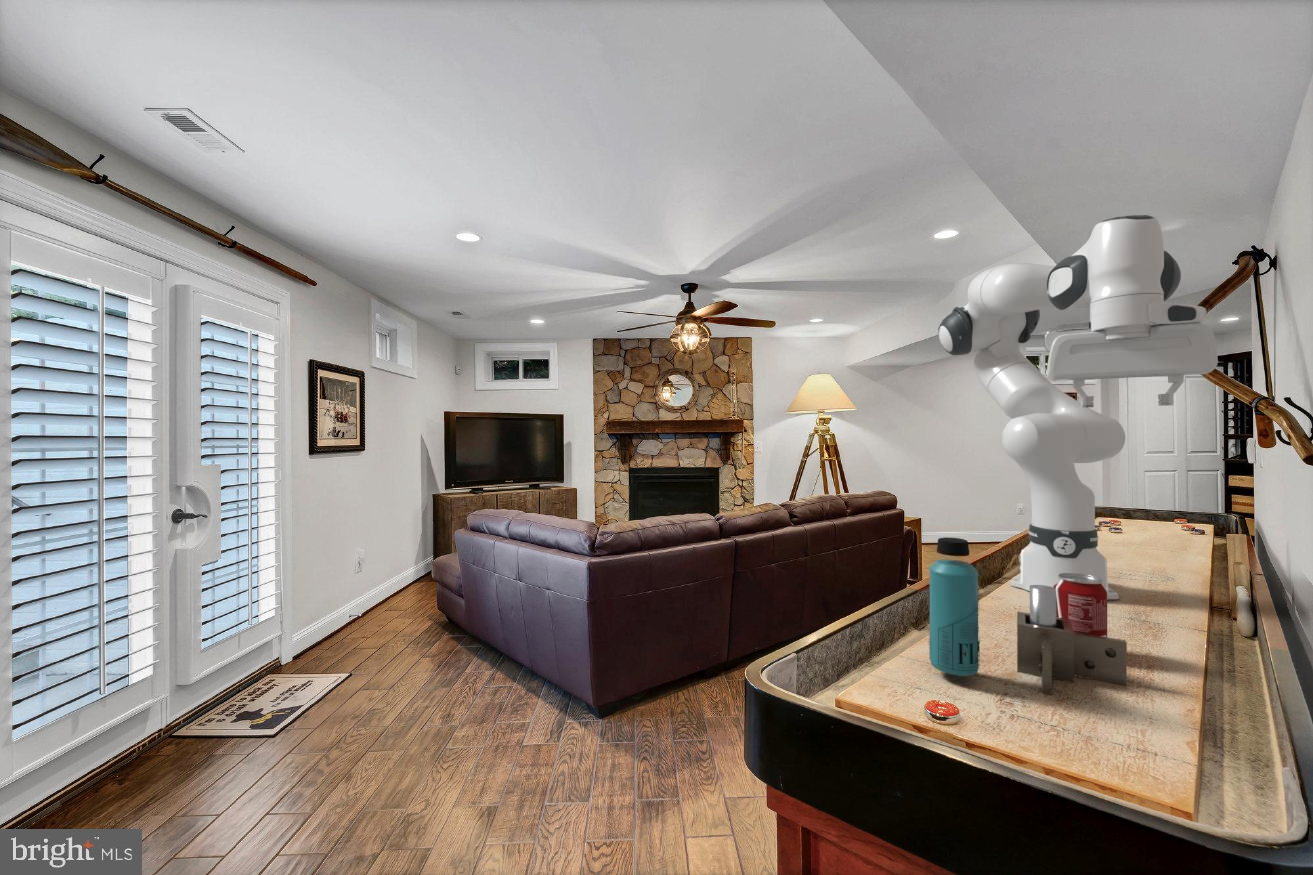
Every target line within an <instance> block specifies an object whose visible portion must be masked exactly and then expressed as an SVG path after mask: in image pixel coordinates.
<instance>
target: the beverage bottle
mask: <svg viewBox="0 0 1313 875" xmlns="http://www.w3.org/2000/svg"><path fill="white" fill-rule="evenodd" d="M936 546H937V547H936V553H937V554H939V555H943V556H944V555H945V556H949V557H950V556H951V557H968V556H970V549H969V541H968V540H967V539H964V538H960V537H947V536H945V537H939V538H937V544H936ZM928 571H929V615H928V616H929V618H928V627H929V638H928V640H929V641H928V644H929V647H928V650H929V652H928V654H929V657H928V658H929V660H930V664H931V665H932V667H933V668H935V669H937V670H938V671H940V672H943V673H946V674H950V675H954V676H961V677H962V676H963V677H967V676H968V677H969V676H974V675H976V674H977V673H978V671H979V669H980V666H981V664H980V663H981V651H980V642H981V641H980V640H981V639H980V637H979V630H980V627H979V615H980V613H981V612H980V609H979V605H980V596H979V586H978V585H979V584H978V583H979V582H978V580H979V579H978V577H979V571H978V570H977V569H976V568H975V567H974V566H973V565H972V564H971V563H969V562H968V561H963V560H958V559H950V558H949V559H948V558H944V559H943V558H942V559H938V560H936V561H934V562H933V563H932V564H931V565H930V566H929V567H928Z"/></svg>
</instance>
